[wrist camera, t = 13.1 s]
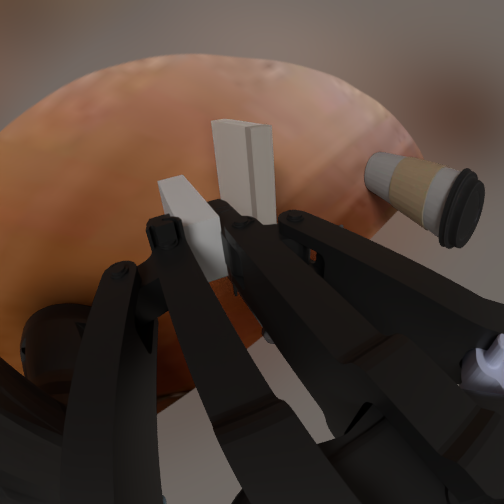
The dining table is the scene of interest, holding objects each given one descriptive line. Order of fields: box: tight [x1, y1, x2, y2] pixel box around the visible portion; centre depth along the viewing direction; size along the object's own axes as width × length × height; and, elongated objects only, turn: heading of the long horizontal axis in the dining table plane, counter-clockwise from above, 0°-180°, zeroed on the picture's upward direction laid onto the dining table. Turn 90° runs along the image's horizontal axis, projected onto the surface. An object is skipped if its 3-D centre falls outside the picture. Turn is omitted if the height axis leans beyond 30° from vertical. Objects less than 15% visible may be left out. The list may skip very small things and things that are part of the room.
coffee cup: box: [365, 152, 485, 249], centre depth 28 cm, size 9×9×15 cm
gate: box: [211, 119, 277, 225], centre depth 22 cm, size 14×1×8 cm, turn 6°
